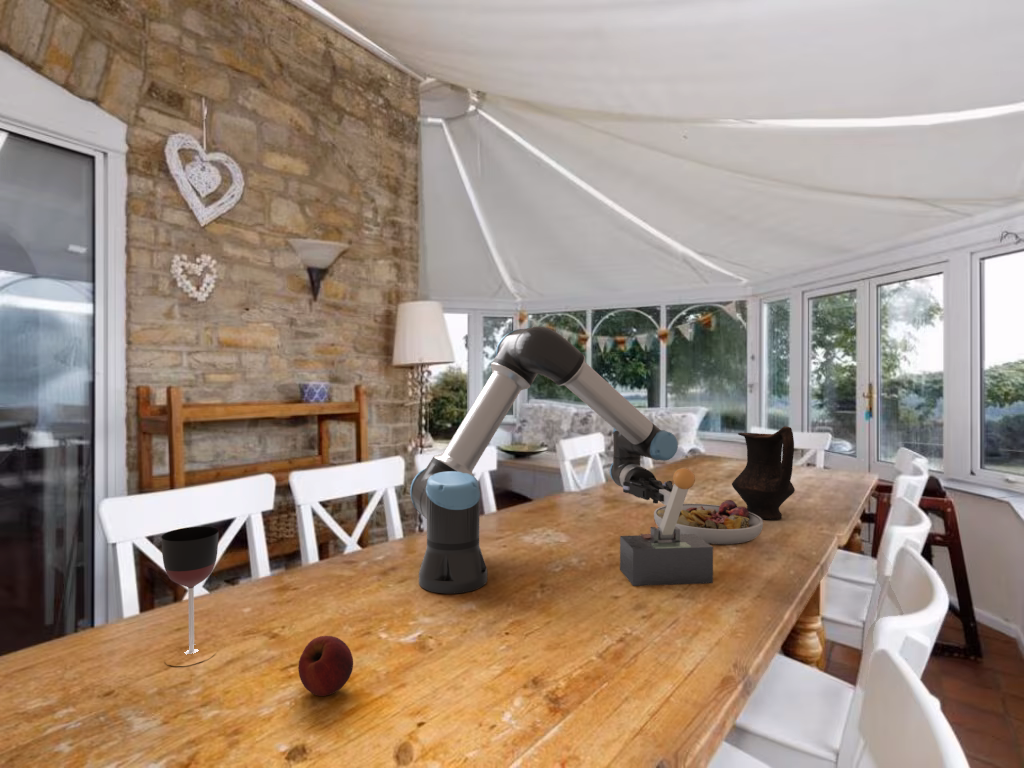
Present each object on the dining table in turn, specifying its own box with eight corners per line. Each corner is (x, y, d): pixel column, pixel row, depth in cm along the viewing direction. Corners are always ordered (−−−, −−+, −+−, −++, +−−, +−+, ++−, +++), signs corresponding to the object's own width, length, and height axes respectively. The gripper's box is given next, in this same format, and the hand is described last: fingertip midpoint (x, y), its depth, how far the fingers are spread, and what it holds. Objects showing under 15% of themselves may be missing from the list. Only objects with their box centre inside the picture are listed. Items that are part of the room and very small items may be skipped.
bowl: (727, 555, 142) (728, 525, 142) (633, 530, 165) (633, 503, 165) (781, 534, 161) (782, 507, 161) (690, 514, 184) (690, 490, 184)
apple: (286, 695, 80) (286, 640, 80) (331, 671, 86) (331, 620, 86) (319, 713, 76) (319, 654, 75) (364, 686, 82) (363, 632, 82)
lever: (651, 529, 129) (672, 463, 116) (670, 529, 129) (693, 463, 116) (657, 545, 125) (679, 479, 112) (676, 544, 126) (700, 478, 113)
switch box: (620, 569, 131) (620, 523, 131) (694, 567, 132) (694, 521, 132) (632, 585, 121) (633, 535, 121) (712, 583, 123) (713, 533, 122)
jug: (719, 511, 186) (719, 422, 186) (764, 507, 192) (765, 420, 191) (765, 528, 166) (766, 428, 165) (814, 523, 171) (815, 426, 171)
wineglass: (206, 638, 97) (205, 524, 97) (228, 654, 91) (227, 533, 91) (154, 655, 91) (153, 534, 90) (175, 674, 85) (173, 544, 85)
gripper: (661, 494, 147) (701, 517, 124) (613, 495, 146) (644, 519, 123) (662, 466, 147) (701, 484, 124) (613, 467, 146) (644, 485, 122)
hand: (672, 501), depth 123 cm, fingers closed
